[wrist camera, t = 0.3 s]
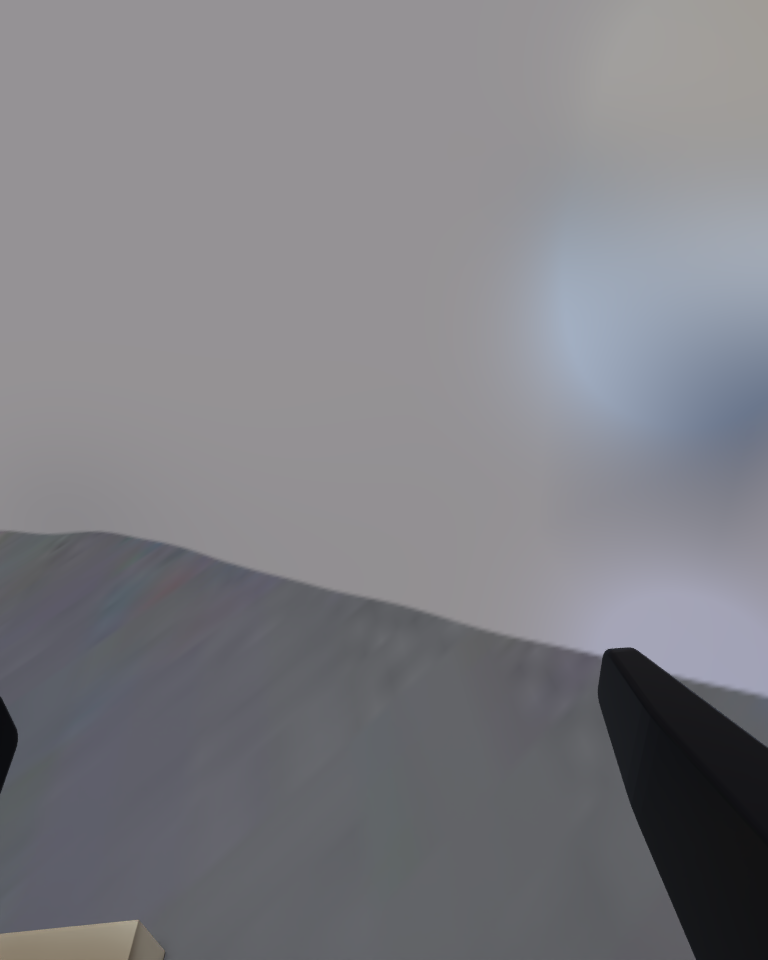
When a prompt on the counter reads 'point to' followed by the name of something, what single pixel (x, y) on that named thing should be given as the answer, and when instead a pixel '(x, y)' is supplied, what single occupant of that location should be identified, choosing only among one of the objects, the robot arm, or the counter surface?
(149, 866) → the counter surface
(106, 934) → the socket plate
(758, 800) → the robot arm
